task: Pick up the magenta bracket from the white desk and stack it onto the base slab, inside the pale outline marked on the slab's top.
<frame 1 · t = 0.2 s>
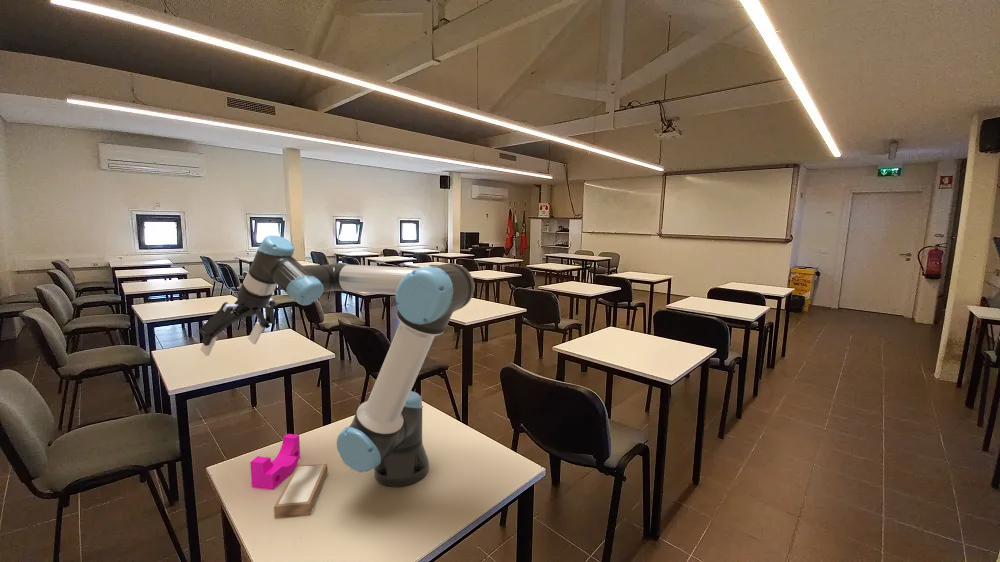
hand: (229, 346, 116), 35 cm above the table, tool tilted 35°, fingers open, 13 cm apart
base slab: (303, 494, 106), on the table
magenta bracket: (281, 473, 116), on the table
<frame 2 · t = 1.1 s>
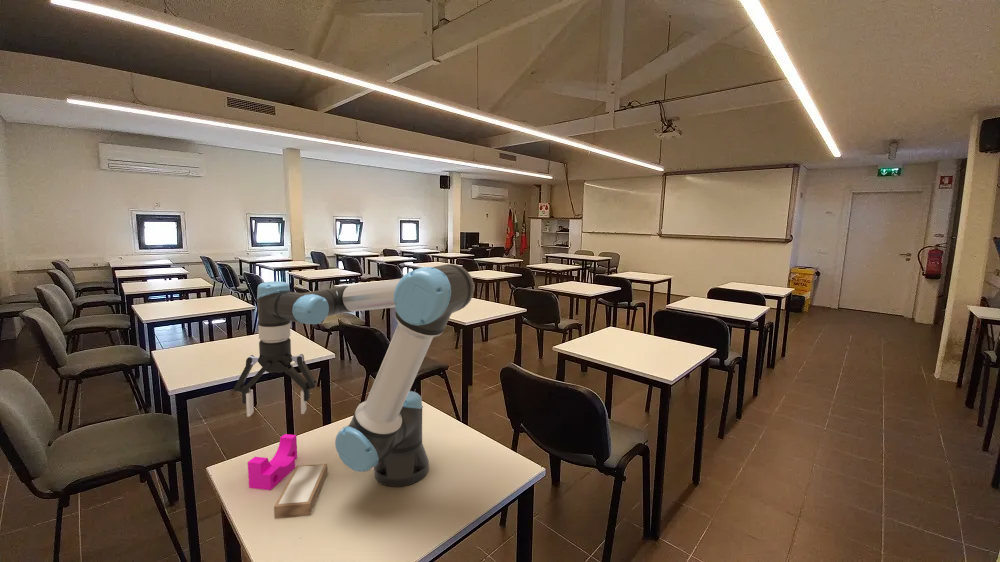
hand: (277, 413, 114), 17 cm above the table, tool pointing down, fingers open, 13 cm apart
nothing on the table moved.
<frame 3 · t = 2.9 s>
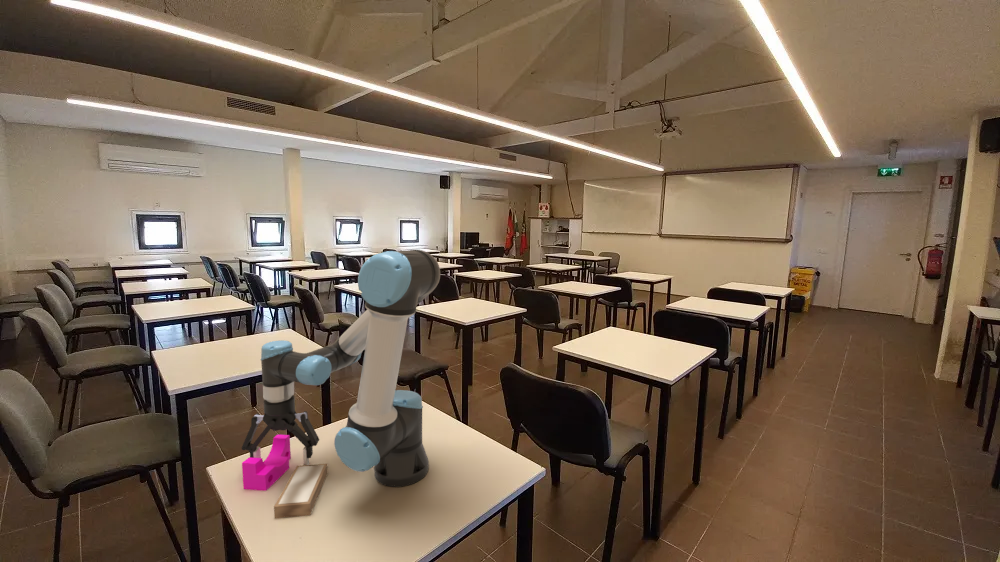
hand: (282, 469, 116), 1 cm above the table, tool pointing down, fingers open, 12 cm apart
magenta bracket: (272, 474, 115), on the table, touching gripper
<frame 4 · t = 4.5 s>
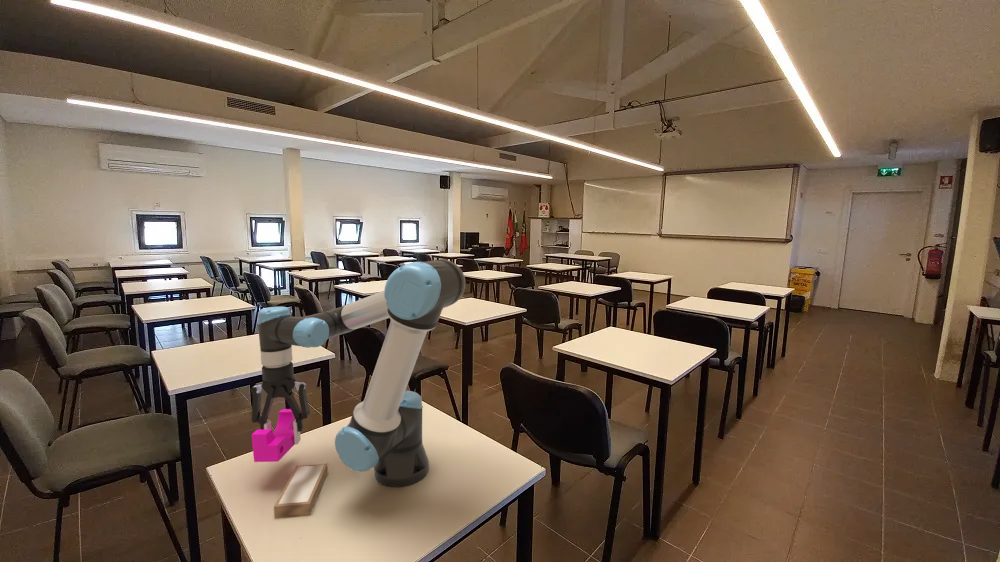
hand: (283, 443, 114), 9 cm above the table, tool pointing down, fingers closed on magenta bracket, 7 cm apart
magenta bracket: (281, 447, 113), point 8 cm above the table, touching gripper
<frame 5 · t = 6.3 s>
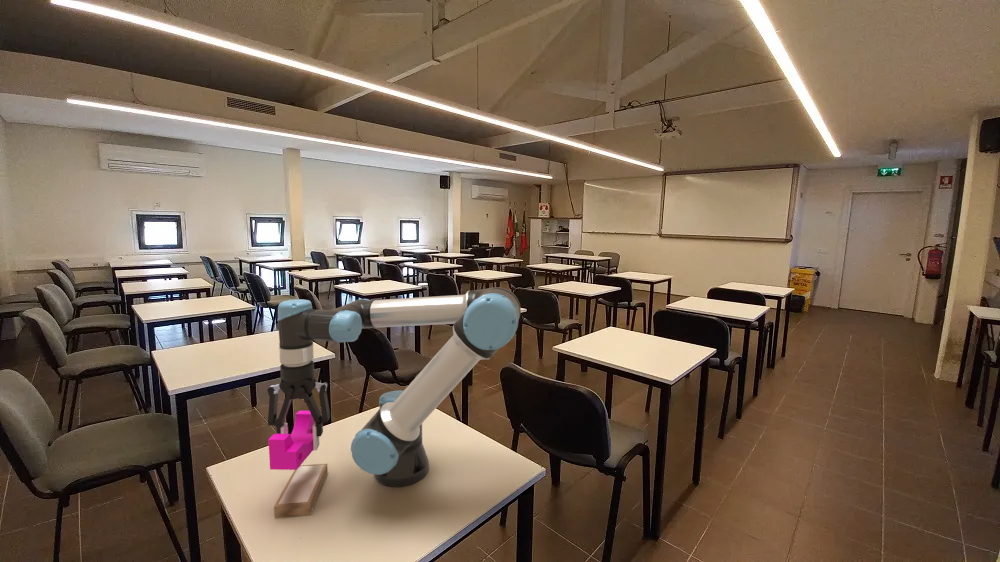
hand: (301, 448, 105), 13 cm above the table, tool pointing down, fingers closed on magenta bracket, 7 cm apart
magenta bracket: (299, 452, 104), point 12 cm above the table, touching gripper
when the fingers open (4 cm above the table, at t = 8.1 s): magenta bracket stays where it is, resting on base slab.
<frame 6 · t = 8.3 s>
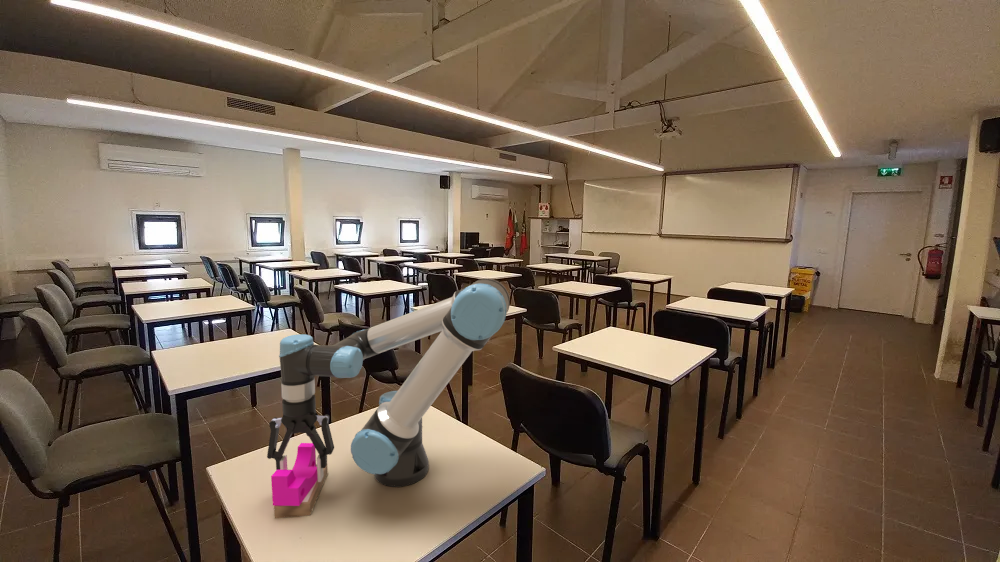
hand: (302, 480, 106), 4 cm above the table, tool pointing down, fingers open, 8 cm apart
magenta bracket: (301, 486, 105), point 3 cm above the table, touching base slab
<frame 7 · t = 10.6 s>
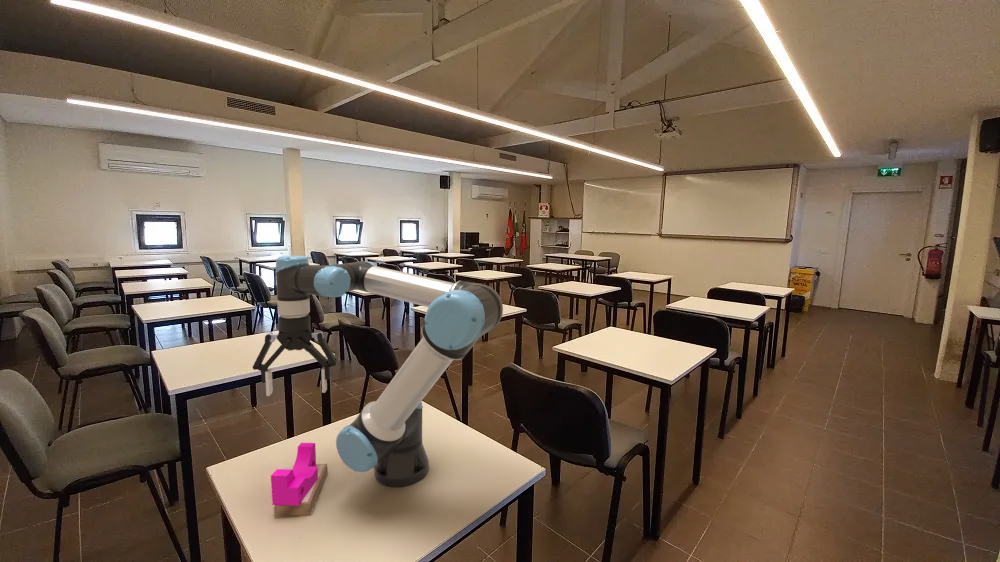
hand: (297, 392, 110), 25 cm above the table, tool pointing down, fingers open, 13 cm apart
nothing on the table moved.
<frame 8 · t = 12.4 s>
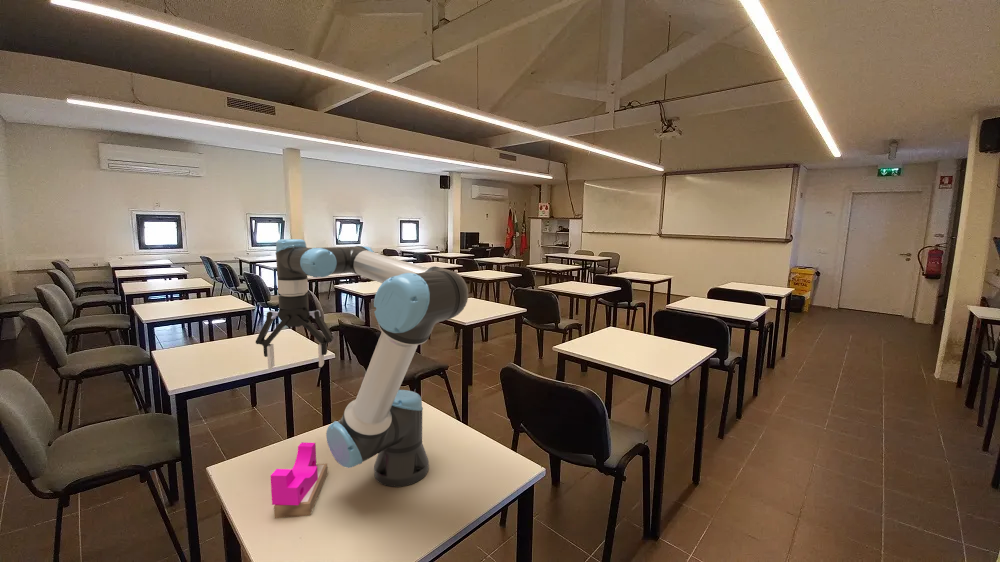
hand: (296, 366, 118), 29 cm above the table, tool pointing down, fingers open, 13 cm apart
nothing on the table moved.
at the end: magenta bracket inside the target area on the base slab (1.0 cm from its centre), point 2.9 cm above the base slab's base; magenta bracket tilted 0°; the gripper is holding nothing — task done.
